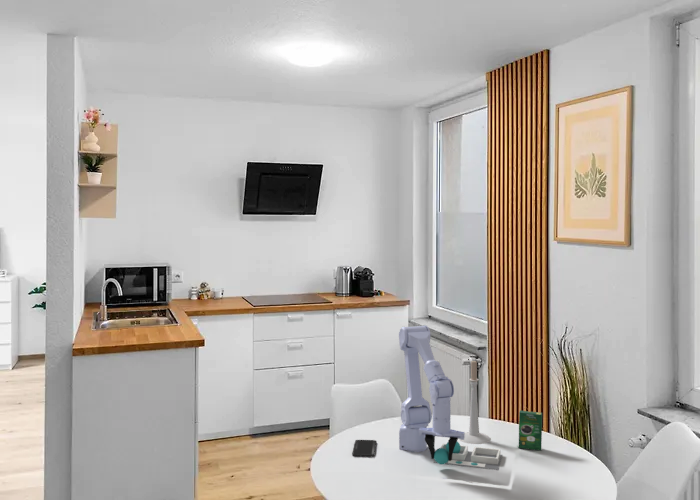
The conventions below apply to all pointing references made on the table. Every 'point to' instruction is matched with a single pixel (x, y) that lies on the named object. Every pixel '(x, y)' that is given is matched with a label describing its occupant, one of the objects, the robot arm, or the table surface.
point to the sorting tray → (476, 458)
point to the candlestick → (474, 413)
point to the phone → (364, 448)
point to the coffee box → (530, 430)
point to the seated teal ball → (456, 448)
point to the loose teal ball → (441, 456)
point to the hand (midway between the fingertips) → (441, 458)
